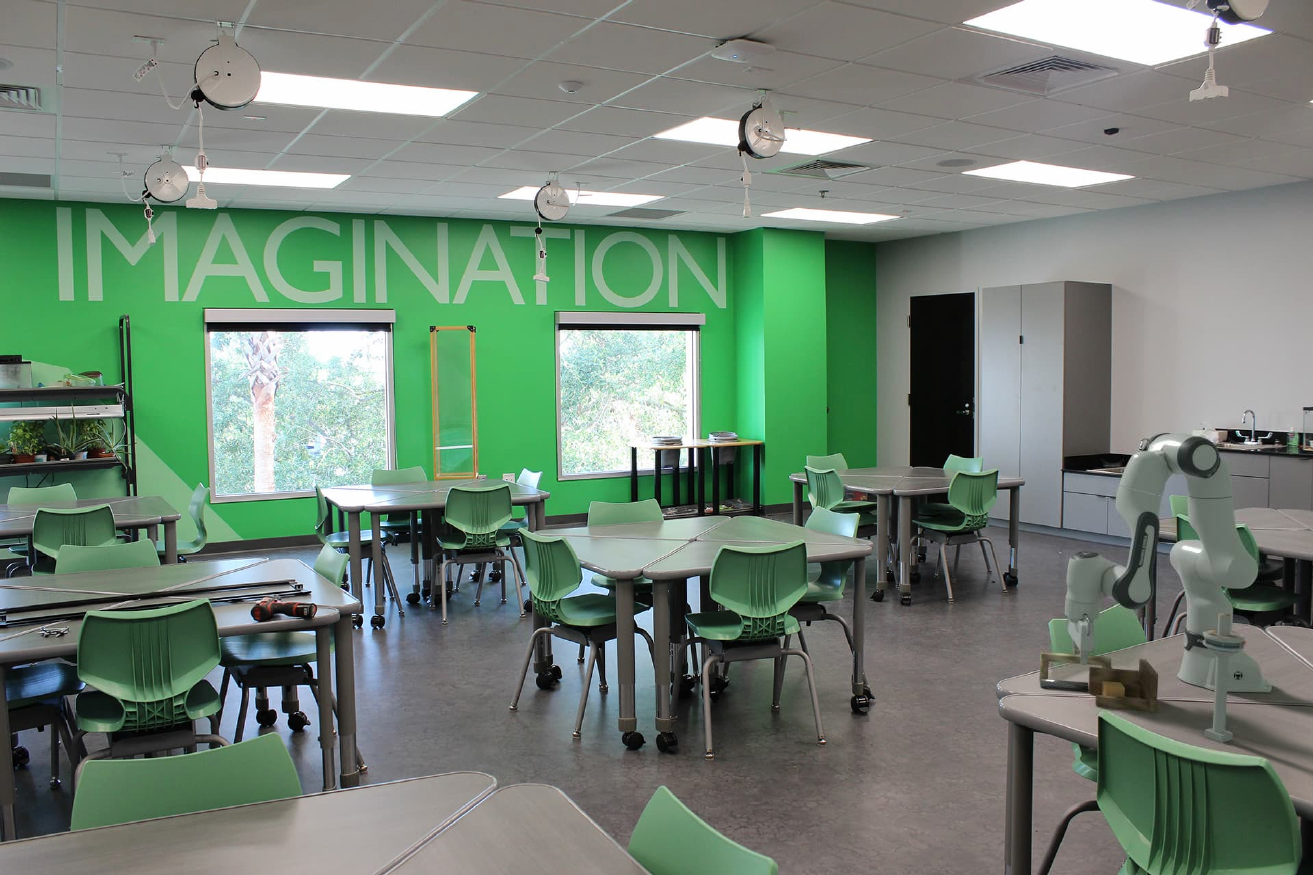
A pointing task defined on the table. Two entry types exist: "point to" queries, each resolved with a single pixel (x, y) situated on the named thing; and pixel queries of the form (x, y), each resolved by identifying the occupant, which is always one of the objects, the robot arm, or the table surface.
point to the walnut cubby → (1127, 687)
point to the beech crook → (1069, 661)
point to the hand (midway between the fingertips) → (1079, 658)
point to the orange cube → (1113, 689)
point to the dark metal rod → (1064, 685)
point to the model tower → (1221, 672)
